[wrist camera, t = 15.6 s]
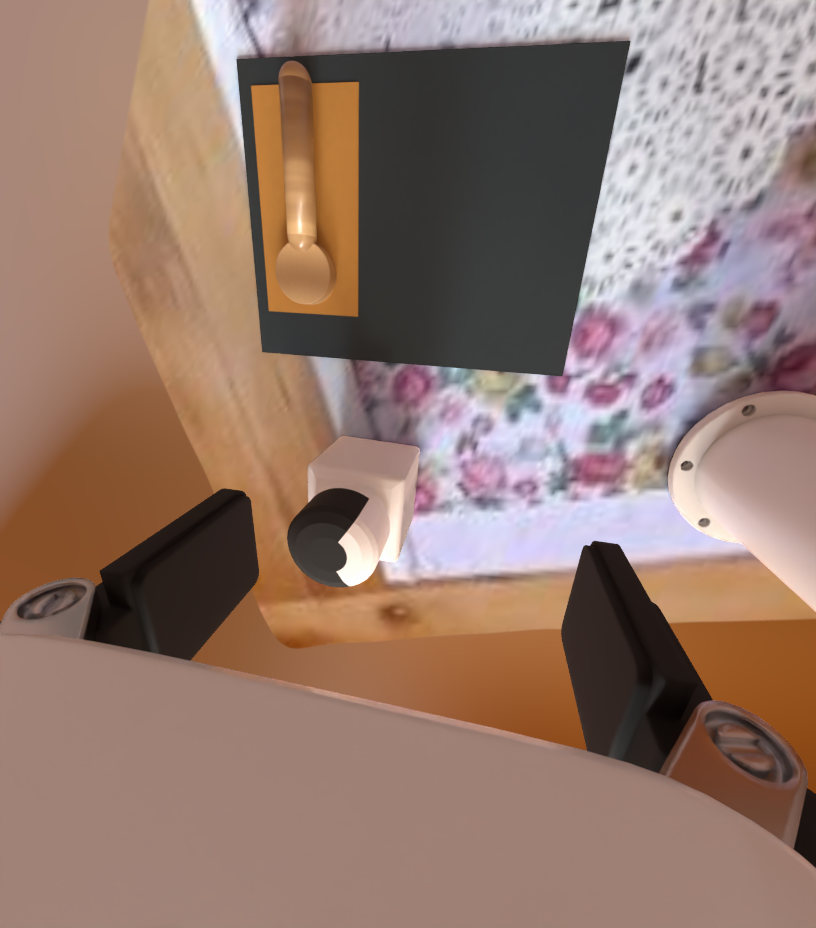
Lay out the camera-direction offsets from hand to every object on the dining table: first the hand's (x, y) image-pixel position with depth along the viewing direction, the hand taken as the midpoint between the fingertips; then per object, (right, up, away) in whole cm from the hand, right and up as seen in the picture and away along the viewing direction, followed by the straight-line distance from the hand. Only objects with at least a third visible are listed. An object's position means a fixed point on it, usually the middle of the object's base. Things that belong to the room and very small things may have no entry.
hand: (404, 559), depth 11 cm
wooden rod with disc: (-8, +22, +19) cm, 30 cm away
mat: (0, +20, +18) cm, 28 cm away
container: (-3, +1, +27) cm, 27 cm away
